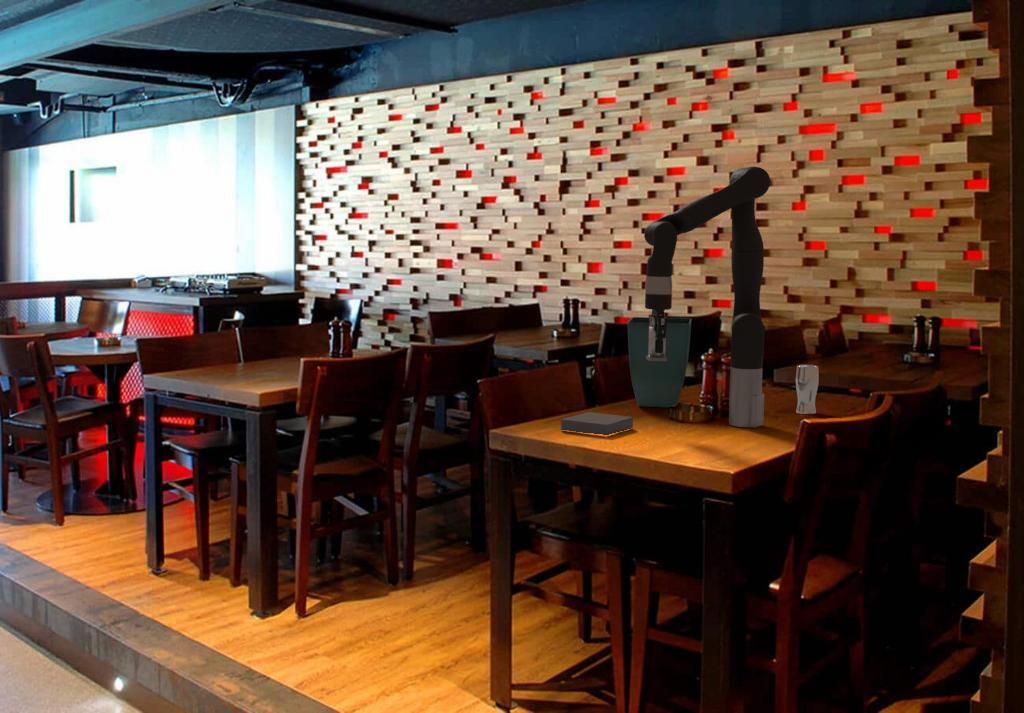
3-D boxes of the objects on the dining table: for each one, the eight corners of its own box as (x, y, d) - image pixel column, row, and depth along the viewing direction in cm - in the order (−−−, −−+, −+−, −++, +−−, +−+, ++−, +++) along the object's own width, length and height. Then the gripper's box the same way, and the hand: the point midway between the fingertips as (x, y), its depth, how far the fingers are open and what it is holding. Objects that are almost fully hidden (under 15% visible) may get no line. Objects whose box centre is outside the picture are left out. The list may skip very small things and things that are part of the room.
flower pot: (688, 410, 327) (690, 322, 324) (625, 408, 331) (627, 321, 328) (689, 401, 347) (691, 318, 343) (631, 399, 351) (632, 317, 347)
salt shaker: (667, 361, 290) (668, 322, 289) (649, 361, 290) (650, 322, 288) (663, 359, 295) (664, 321, 294) (646, 358, 295) (647, 320, 293)
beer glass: (815, 411, 327) (816, 364, 325) (819, 414, 320) (821, 367, 319) (792, 410, 328) (794, 364, 326) (796, 414, 321) (798, 367, 319)
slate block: (632, 430, 296) (633, 417, 295) (606, 439, 284) (606, 424, 283) (588, 425, 304) (588, 412, 304) (561, 433, 292) (561, 419, 292)
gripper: (677, 293, 283) (675, 355, 285) (666, 291, 297) (664, 349, 299) (650, 293, 283) (648, 354, 285) (640, 290, 297) (638, 349, 299)
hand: (656, 351), depth 292 cm, fingers closed on salt shaker, 4 cm apart
